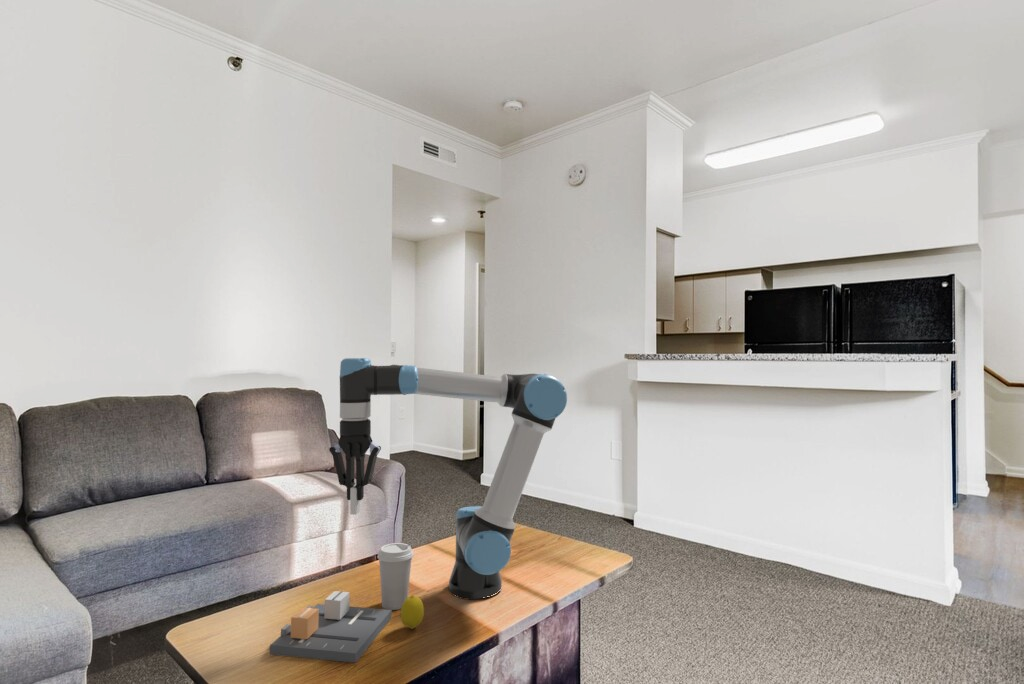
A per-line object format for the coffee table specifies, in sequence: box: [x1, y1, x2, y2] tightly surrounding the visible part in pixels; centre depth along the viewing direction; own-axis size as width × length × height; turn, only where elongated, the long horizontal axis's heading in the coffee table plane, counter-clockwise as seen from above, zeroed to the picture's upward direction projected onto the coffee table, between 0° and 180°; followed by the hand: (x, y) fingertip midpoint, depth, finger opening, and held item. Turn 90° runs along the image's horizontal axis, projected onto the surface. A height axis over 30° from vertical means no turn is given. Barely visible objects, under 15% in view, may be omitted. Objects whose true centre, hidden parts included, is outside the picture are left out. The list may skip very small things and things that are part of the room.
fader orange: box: [290, 607, 319, 639], centre depth 125 cm, size 4×5×5 cm
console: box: [269, 603, 393, 664], centre depth 130 cm, size 20×21×3 cm
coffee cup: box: [376, 542, 415, 611], centre depth 146 cm, size 10×10×15 cm
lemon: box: [400, 594, 425, 630], centre depth 133 cm, size 6×6×8 cm
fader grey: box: [324, 590, 350, 620], centre depth 135 cm, size 4×5×5 cm
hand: (355, 512), depth 138 cm, fingers closed
